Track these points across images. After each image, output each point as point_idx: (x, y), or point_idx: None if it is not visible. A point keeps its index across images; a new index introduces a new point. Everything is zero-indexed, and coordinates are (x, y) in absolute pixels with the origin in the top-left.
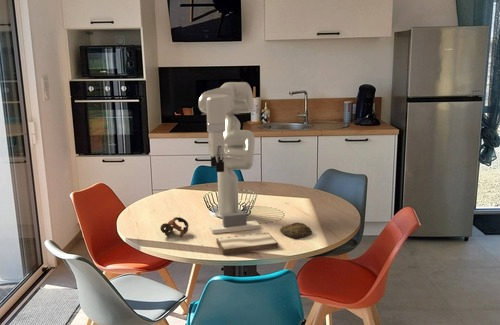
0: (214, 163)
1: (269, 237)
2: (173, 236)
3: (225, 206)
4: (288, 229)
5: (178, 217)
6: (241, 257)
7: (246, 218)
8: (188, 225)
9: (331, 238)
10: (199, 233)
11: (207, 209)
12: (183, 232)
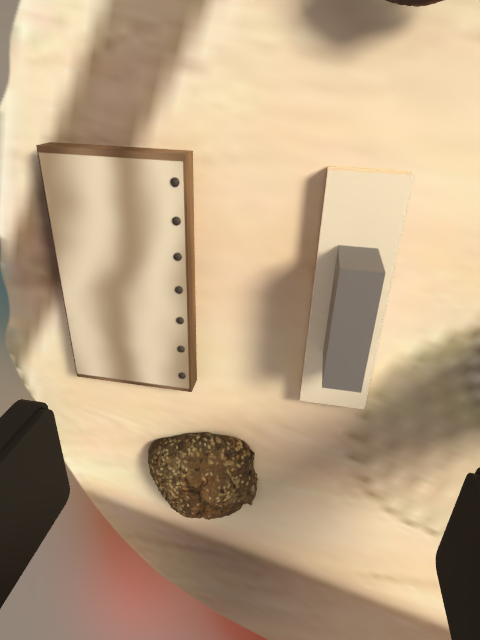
0: (471, 568)
1: (133, 373)
2: None
3: None
4: (178, 458)
5: None
6: (17, 211)
7: (322, 373)
8: (398, 3)
9: (132, 521)
10: (369, 90)
11: None
12: None
